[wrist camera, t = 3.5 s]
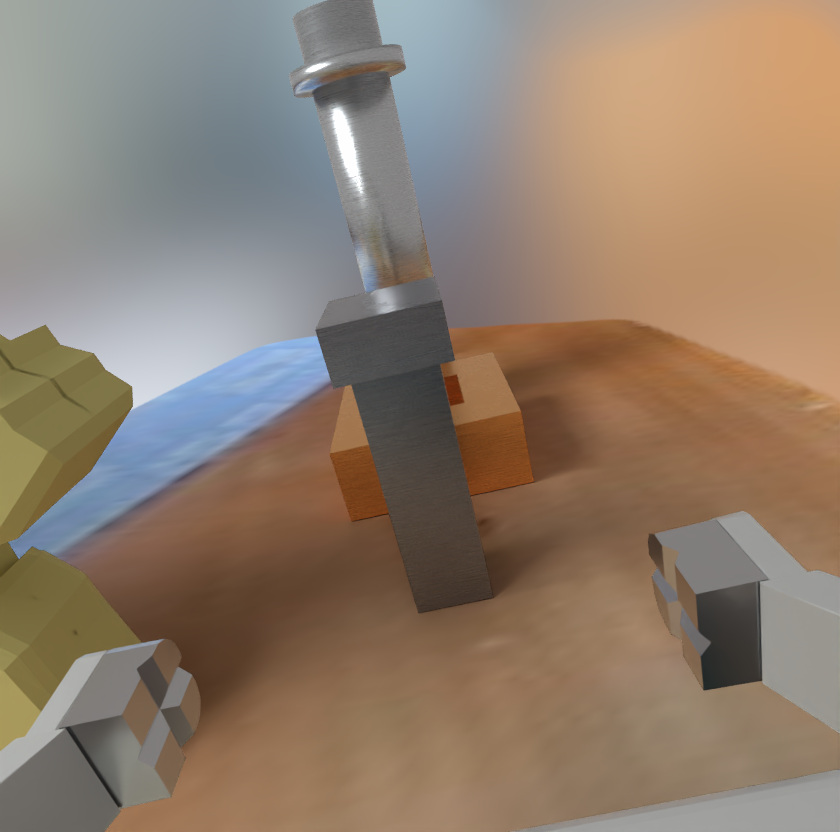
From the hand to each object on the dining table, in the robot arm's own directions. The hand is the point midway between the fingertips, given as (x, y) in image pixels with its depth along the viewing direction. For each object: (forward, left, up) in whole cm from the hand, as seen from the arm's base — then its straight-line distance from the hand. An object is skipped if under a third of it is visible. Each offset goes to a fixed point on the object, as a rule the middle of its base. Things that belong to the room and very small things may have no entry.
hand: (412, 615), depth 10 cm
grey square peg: (+9, +8, -9) cm, 15 cm away
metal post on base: (+20, +17, -9) cm, 28 cm away
